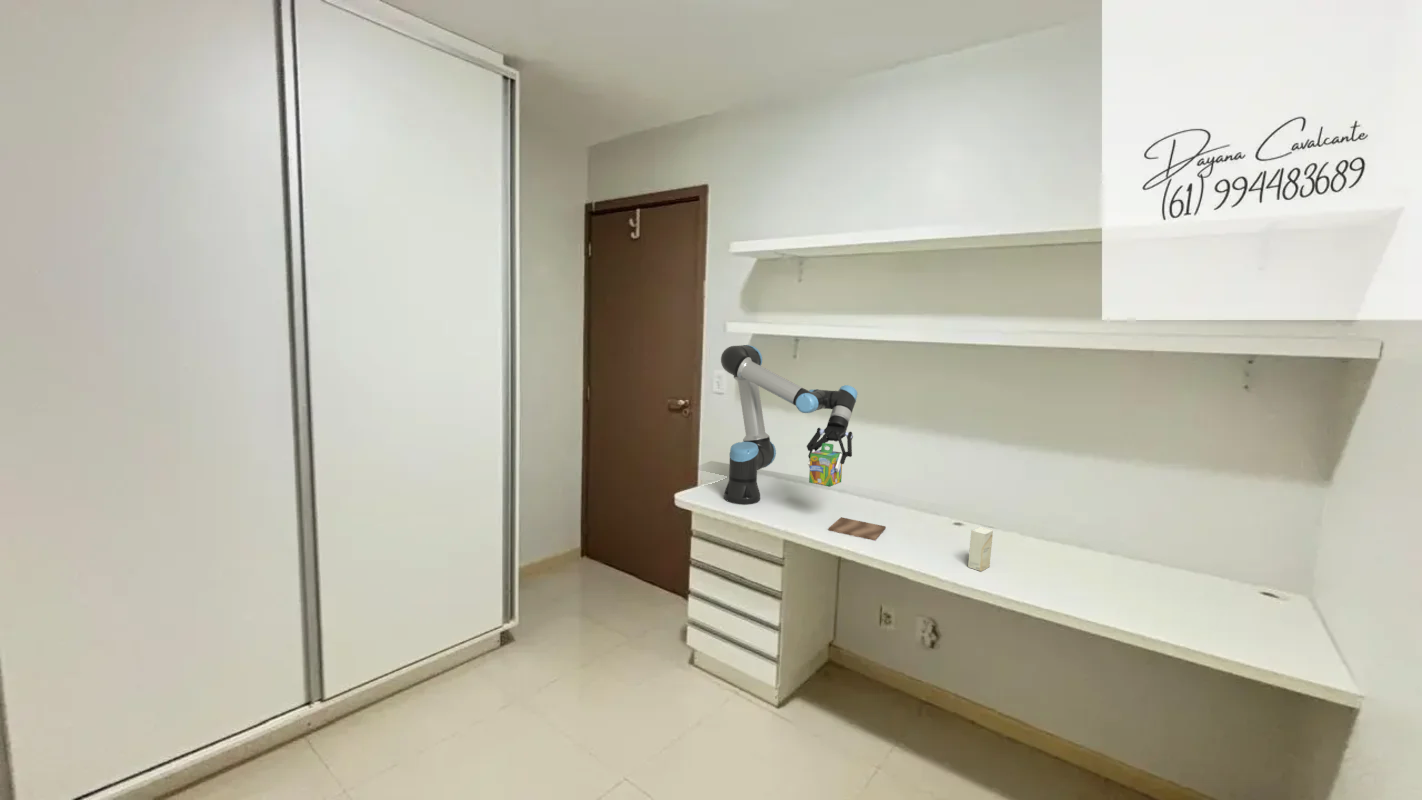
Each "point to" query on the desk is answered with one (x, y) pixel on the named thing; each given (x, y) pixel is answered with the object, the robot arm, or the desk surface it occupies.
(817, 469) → the chalk box
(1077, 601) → the desk surface
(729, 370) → the robot arm
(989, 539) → the skincare box
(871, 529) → the walnut board
